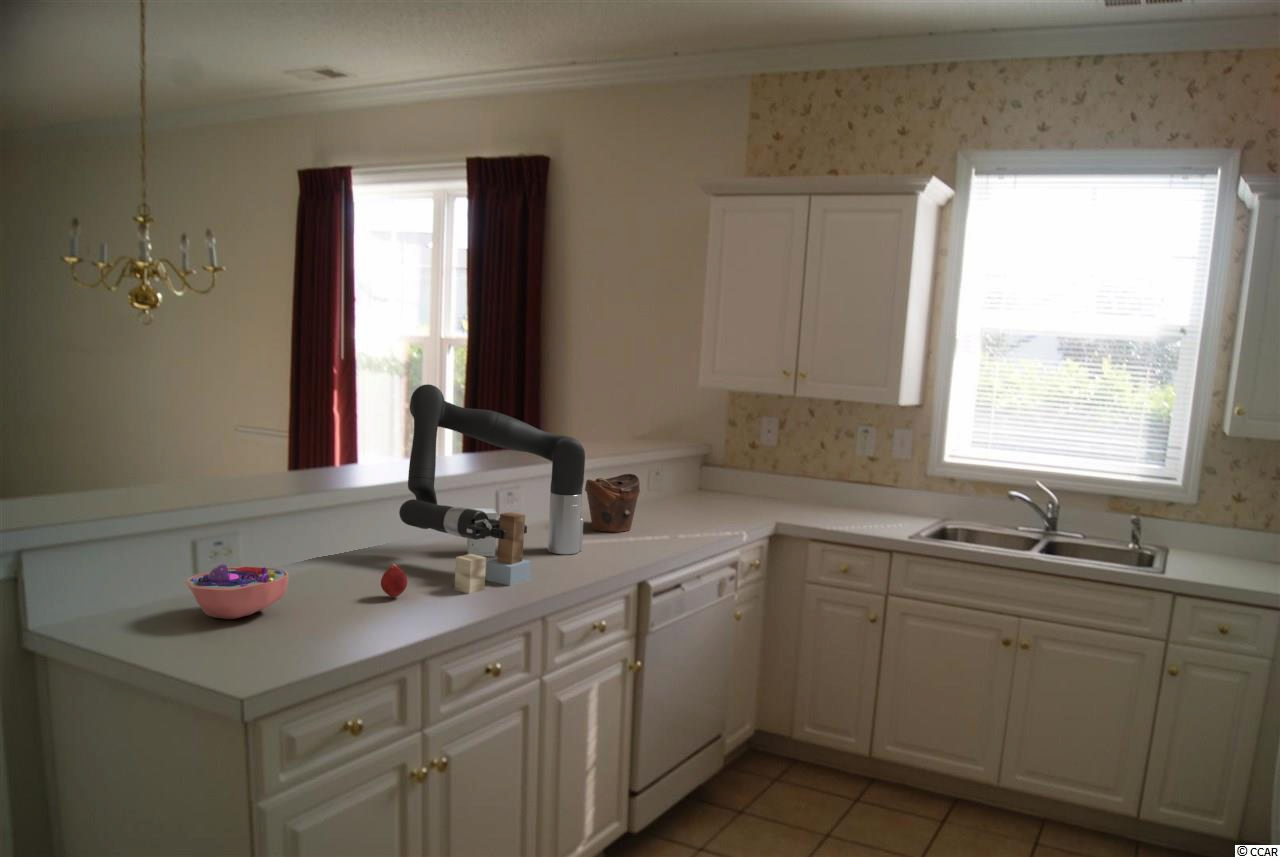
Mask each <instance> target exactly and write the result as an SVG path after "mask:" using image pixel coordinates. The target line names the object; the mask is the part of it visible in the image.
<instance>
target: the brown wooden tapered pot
mask: <svg viewBox="0 0 1280 857" xmlns="http://www.w3.org/2000/svg"><path fill="white" fill-rule="evenodd" d="M640 488H641V487H640V479H639V476H637V475H636V474H633V473H625V474H620V475H618V476H613V477H609V478H606V479H605V478H602V477H599V478H596V479H595V480H593V479H589V478H588V479H587V480H586V481H585V487H584V491H585V492H586V495H587V503H588V507H589V513H590V520H591V527H592V529H593V530H595V531H599V532H607V533H618V532H627V531H629V530H631V528H632V524H633V520H634V517H635V516H634V515H635V512H636V507H637V502H638V498H639V494H640V492H641V489H640Z"/></svg>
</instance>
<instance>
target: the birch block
mask: <svg viewBox="0 0 1280 857" xmlns="http://www.w3.org/2000/svg"><path fill="white" fill-rule="evenodd" d="M486 560H487V556H478V555H474V554H468V553H467V554H465V555H459V556H456V557H455V568H454V569H455V571H454V572H455V574H454V575H455V576H454V591H458V592H461V593H465V594H469V595H470V594H475V593H478V592H482V591H485V586H486V580H485V579H486Z"/></svg>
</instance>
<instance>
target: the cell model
mask: <svg viewBox="0 0 1280 857" xmlns="http://www.w3.org/2000/svg"><path fill="white" fill-rule="evenodd" d="M289 577H290V574H289V572H287V571H286V570H283V569H279V568H266V567H258V566H237V567H236V566H233V567H230V566H229V567H228V566H227V565H226V564H225V563H222V564H219V565H217V566H215V567H213V568H212V569H211V571H208V572H203V573H199V574H196V575H193V576H190V577H188V578H186V579H185V580H184V581H183V583H184V585H185V586H186V587H187V589H188V590H189V592H190V594H192V596H193V598H194V600H195V602H197V604H198V605H199V607H200V608H201V610H202V611H203V613H205V615H207V616H209V617H212V618H215V619H224V620H235V619H236V620H237V619H239V618H243V617H246V616H247V617H248V616H250V615H253V614H255V613H258V612H259V613H260V612H263V611H265V610H268V609H270V608H271V607H272V606H274V605H275V604H276V603H277V602H279V601H280V600H281V599H282V598H284V596H285V595H286V593H287V590H288V586H289V579H290V578H289Z"/></svg>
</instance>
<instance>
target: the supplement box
mask: <svg viewBox="0 0 1280 857" xmlns="http://www.w3.org/2000/svg"><path fill="white" fill-rule="evenodd" d="M468 509H474V510H479V511H483V512H485V513H486V515H487V517H488V519H489V518H495V519H498V518H497V517H498V516H497V515H498V512H497V511H496V509H495V508H492V507H491V508H487V507H486V508H483V507H482V508H481V507H479V508H477V507H469V508H468ZM496 540H497V538H494V537H492V538H488V537H486V538H484V539H482V538H481V539H478V540H475V539H470V538H466V552H467V555H468V554H474V555H478V556H482V557H495V556H496Z"/></svg>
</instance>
